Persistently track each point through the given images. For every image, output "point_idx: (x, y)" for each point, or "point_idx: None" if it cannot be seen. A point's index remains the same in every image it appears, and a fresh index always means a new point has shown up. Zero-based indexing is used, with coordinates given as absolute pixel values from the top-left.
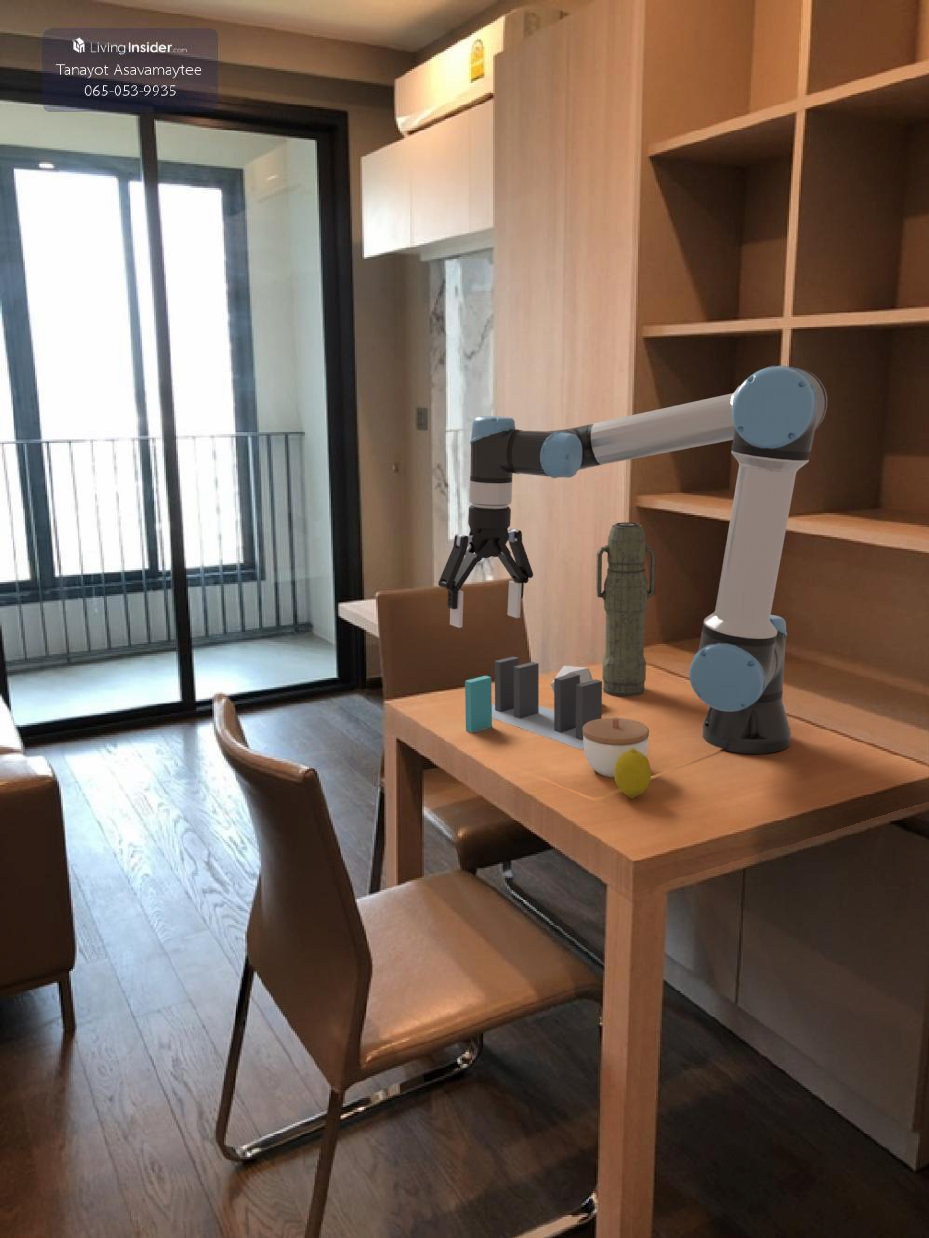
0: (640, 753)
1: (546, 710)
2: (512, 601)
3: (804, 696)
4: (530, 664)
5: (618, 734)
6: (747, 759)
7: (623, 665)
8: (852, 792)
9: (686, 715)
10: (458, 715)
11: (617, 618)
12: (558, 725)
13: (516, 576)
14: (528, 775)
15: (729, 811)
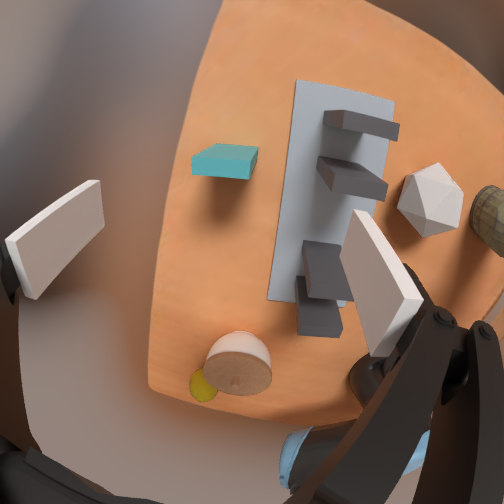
0: (204, 401)
1: None
2: (362, 263)
3: None
4: (369, 192)
5: (220, 386)
6: (340, 385)
7: (494, 242)
8: (315, 424)
9: None
10: (269, 75)
11: None
12: (302, 252)
13: (388, 374)
14: (174, 294)
15: (239, 404)
